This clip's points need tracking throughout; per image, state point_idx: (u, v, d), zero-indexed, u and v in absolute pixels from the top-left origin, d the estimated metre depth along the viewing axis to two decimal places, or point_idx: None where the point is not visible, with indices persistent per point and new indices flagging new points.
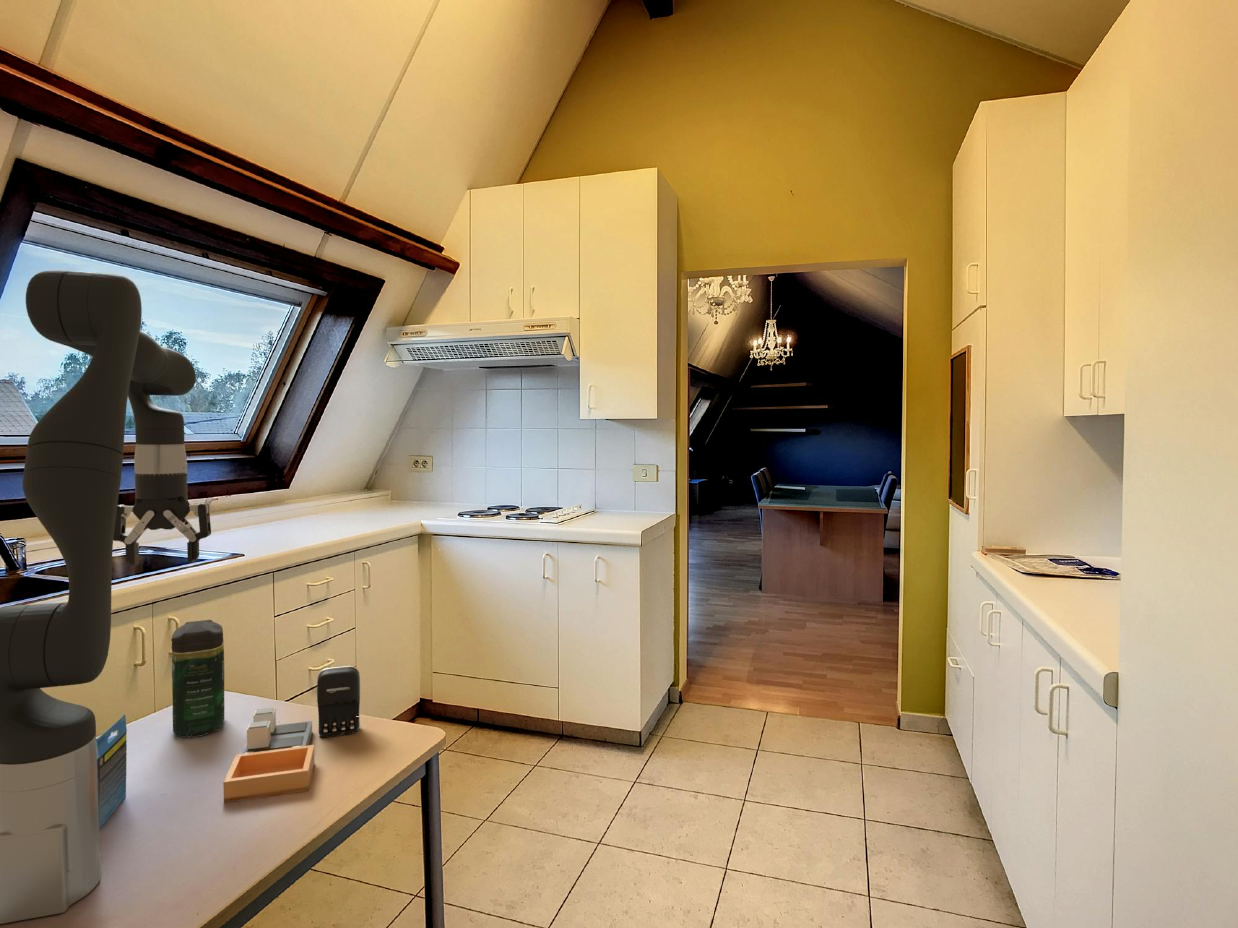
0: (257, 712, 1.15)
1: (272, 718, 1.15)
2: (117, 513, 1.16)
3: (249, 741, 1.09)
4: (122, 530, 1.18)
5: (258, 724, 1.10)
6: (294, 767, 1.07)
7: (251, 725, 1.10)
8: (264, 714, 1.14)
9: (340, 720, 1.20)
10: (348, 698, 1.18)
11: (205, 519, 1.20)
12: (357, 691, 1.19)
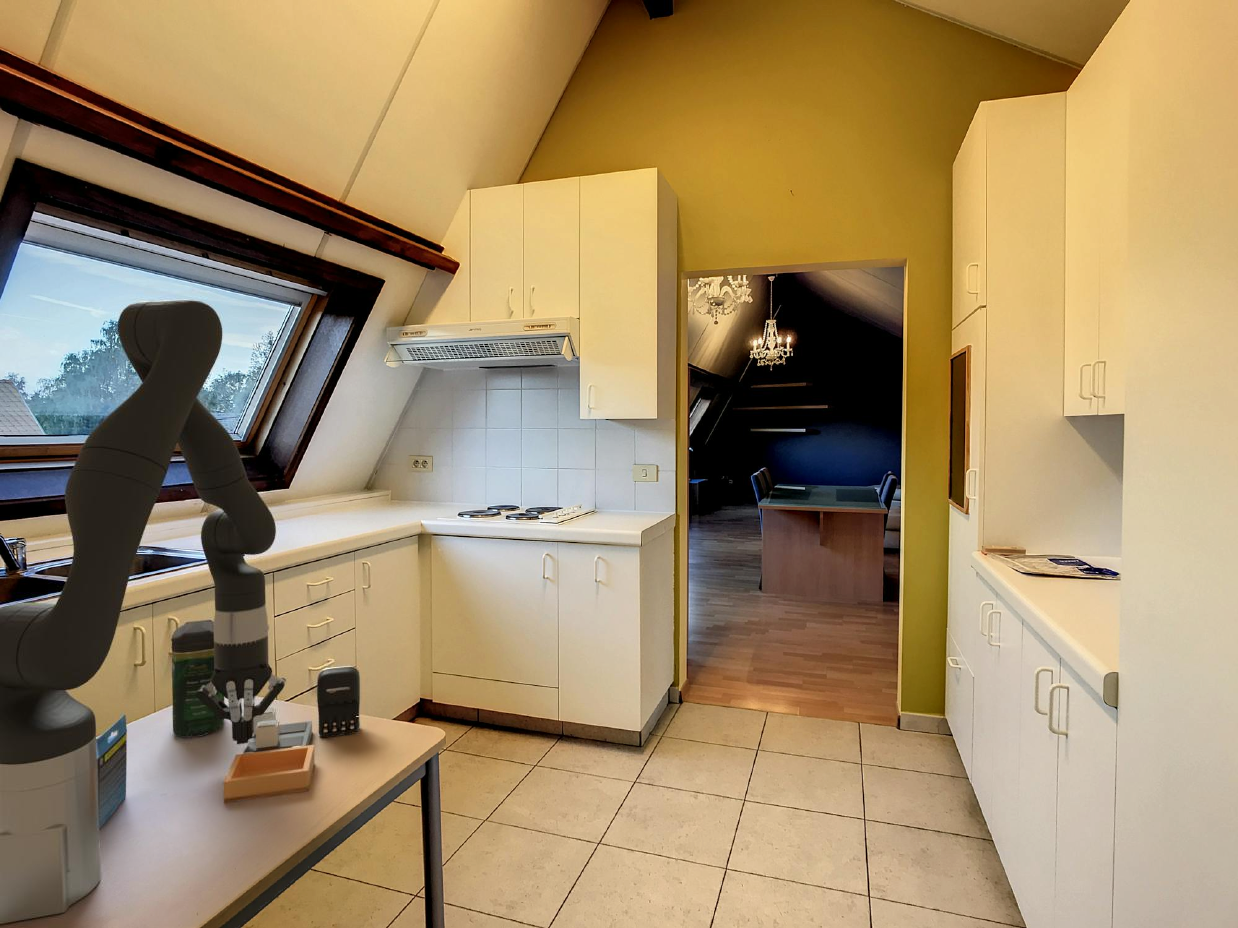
0: None
1: (272, 718, 1.15)
2: (204, 697, 1.07)
3: (258, 740, 1.09)
4: (222, 705, 1.09)
5: (267, 723, 1.10)
6: (294, 767, 1.07)
7: (260, 724, 1.10)
8: (264, 714, 1.14)
9: (340, 720, 1.20)
10: (348, 698, 1.18)
11: (273, 699, 1.10)
12: (357, 691, 1.19)
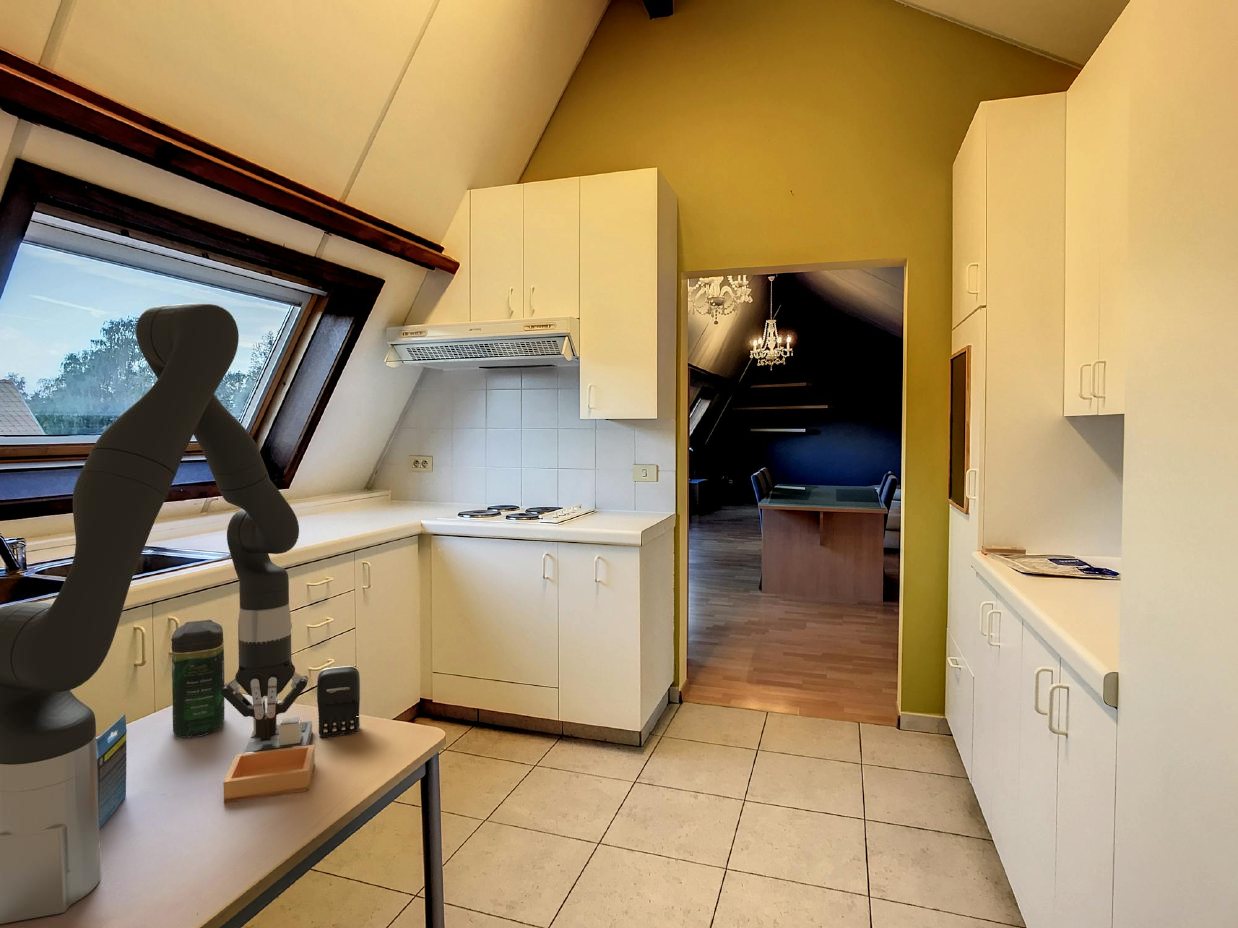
0: None
1: None
2: (228, 694, 1.08)
3: (281, 737, 1.10)
4: (246, 702, 1.10)
5: (290, 720, 1.12)
6: (294, 767, 1.07)
7: (283, 721, 1.11)
8: None
9: (340, 720, 1.20)
10: (348, 698, 1.18)
11: (296, 696, 1.11)
12: (357, 691, 1.19)
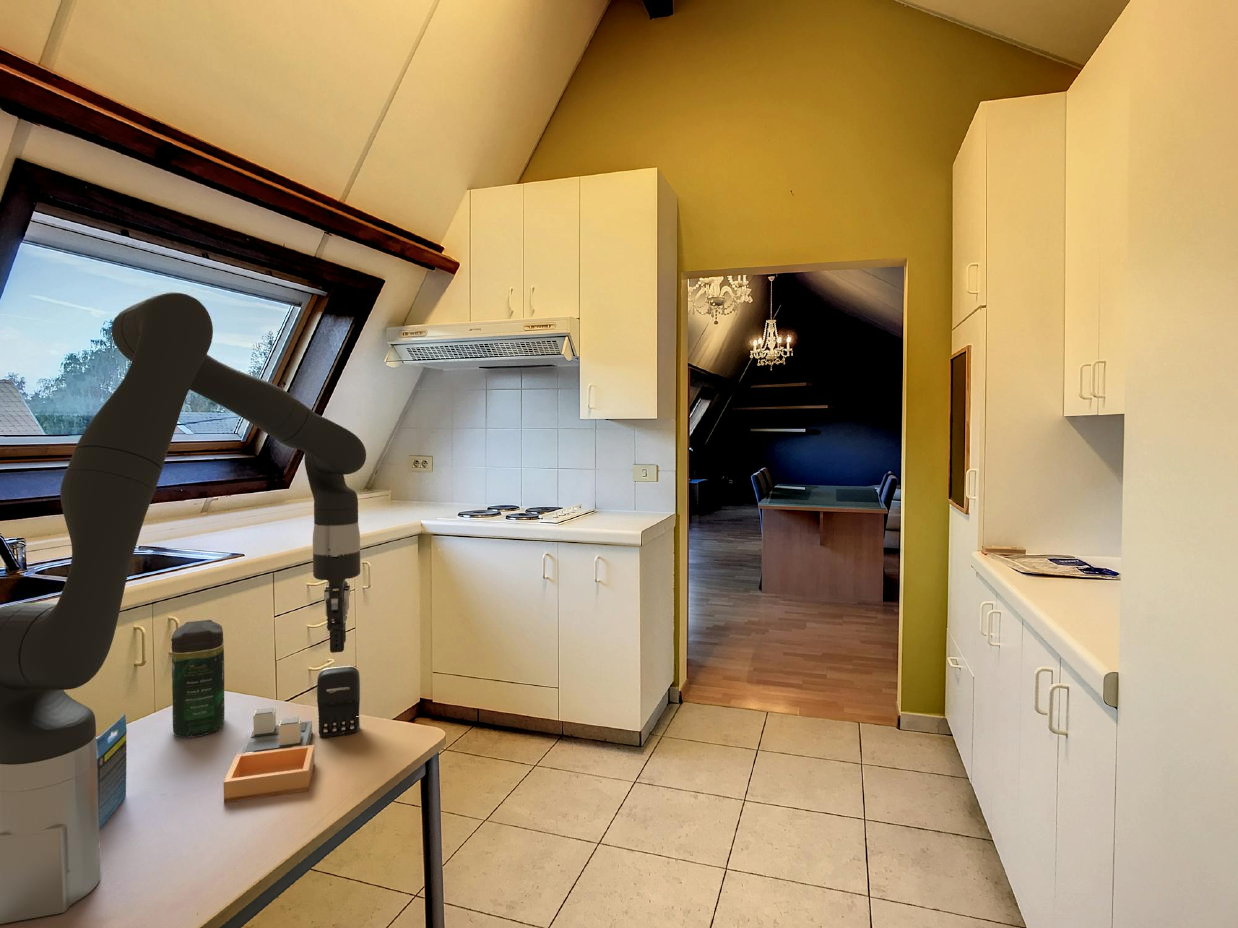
0: (257, 712, 1.15)
1: (272, 718, 1.15)
2: None
3: (281, 737, 1.10)
4: None
5: (289, 720, 1.12)
6: (294, 767, 1.07)
7: (283, 721, 1.11)
8: (264, 714, 1.14)
9: (340, 720, 1.20)
10: (348, 698, 1.18)
11: (327, 614, 1.13)
12: (357, 691, 1.19)
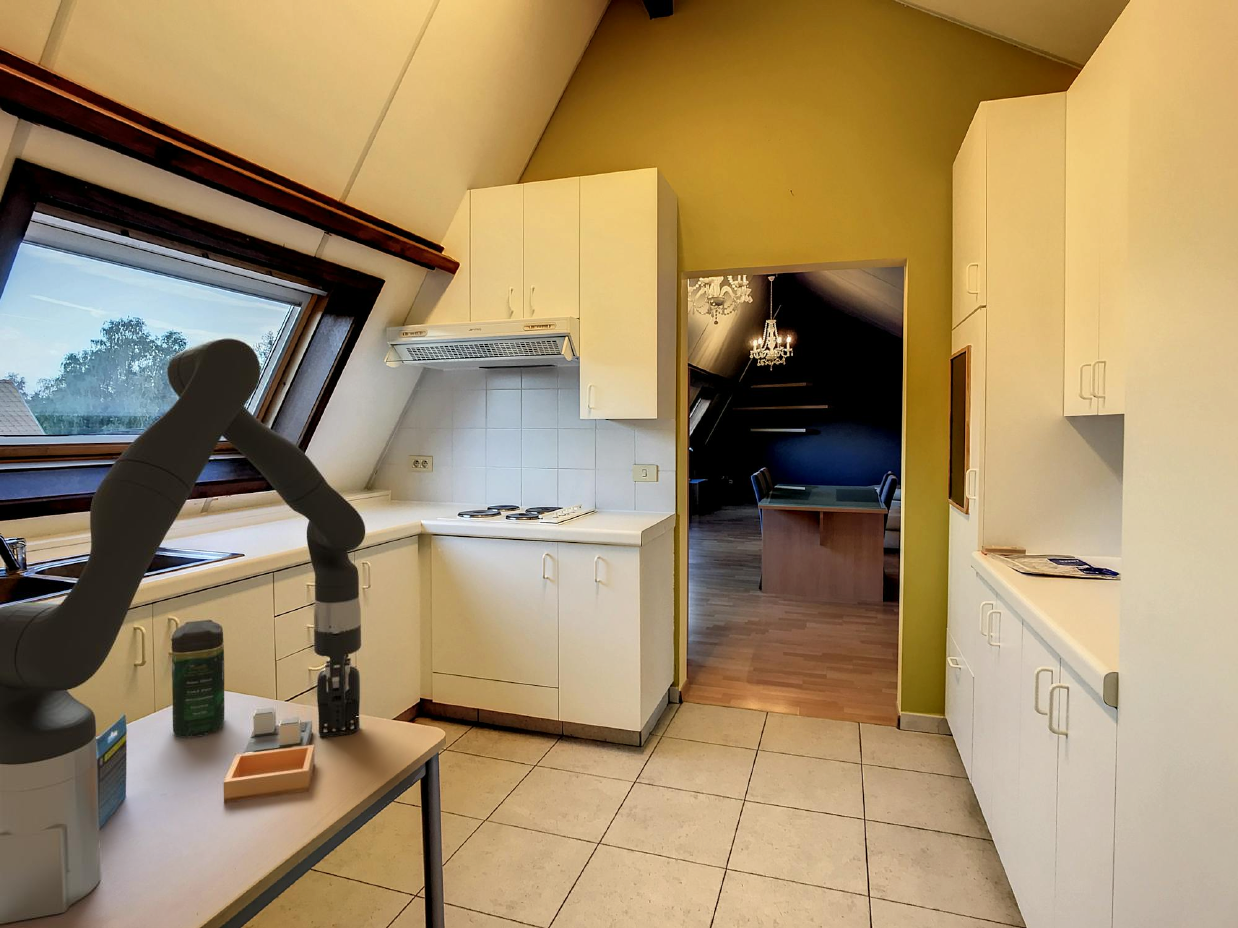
0: (257, 712, 1.15)
1: (272, 718, 1.15)
2: None
3: (281, 737, 1.10)
4: None
5: (289, 720, 1.12)
6: (294, 767, 1.07)
7: (283, 721, 1.11)
8: (264, 714, 1.14)
9: None
10: (348, 698, 1.18)
11: (328, 692, 1.14)
12: (357, 691, 1.19)
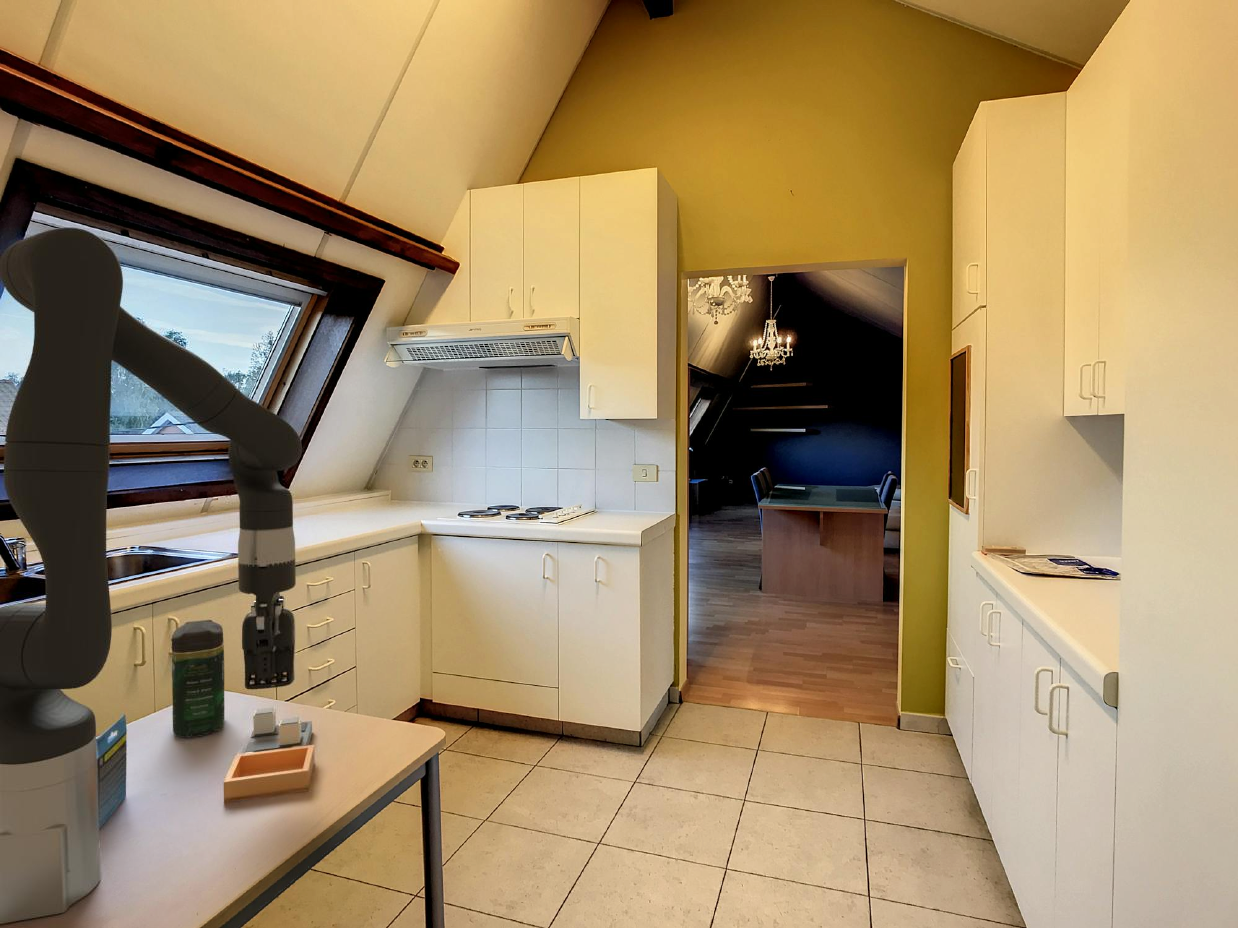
0: (257, 712, 1.15)
1: (272, 718, 1.15)
2: None
3: (281, 737, 1.10)
4: None
5: (289, 720, 1.12)
6: (294, 767, 1.07)
7: (283, 721, 1.11)
8: (264, 714, 1.14)
9: None
10: (279, 644, 1.01)
11: (252, 635, 0.96)
12: (290, 636, 1.02)
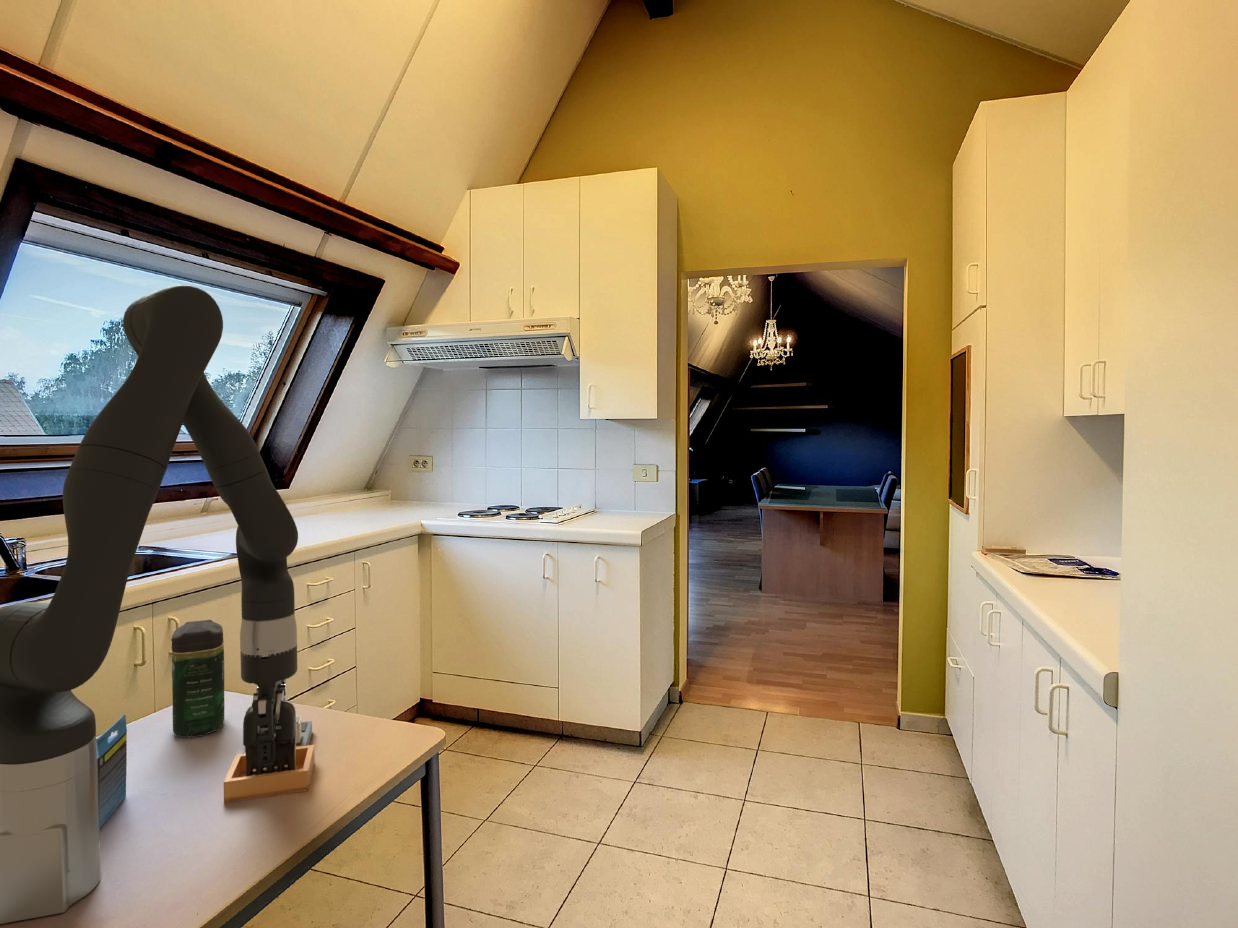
0: None
1: None
2: None
3: None
4: None
5: None
6: None
7: None
8: None
9: None
10: (280, 739, 1.01)
11: None
12: (291, 731, 1.02)
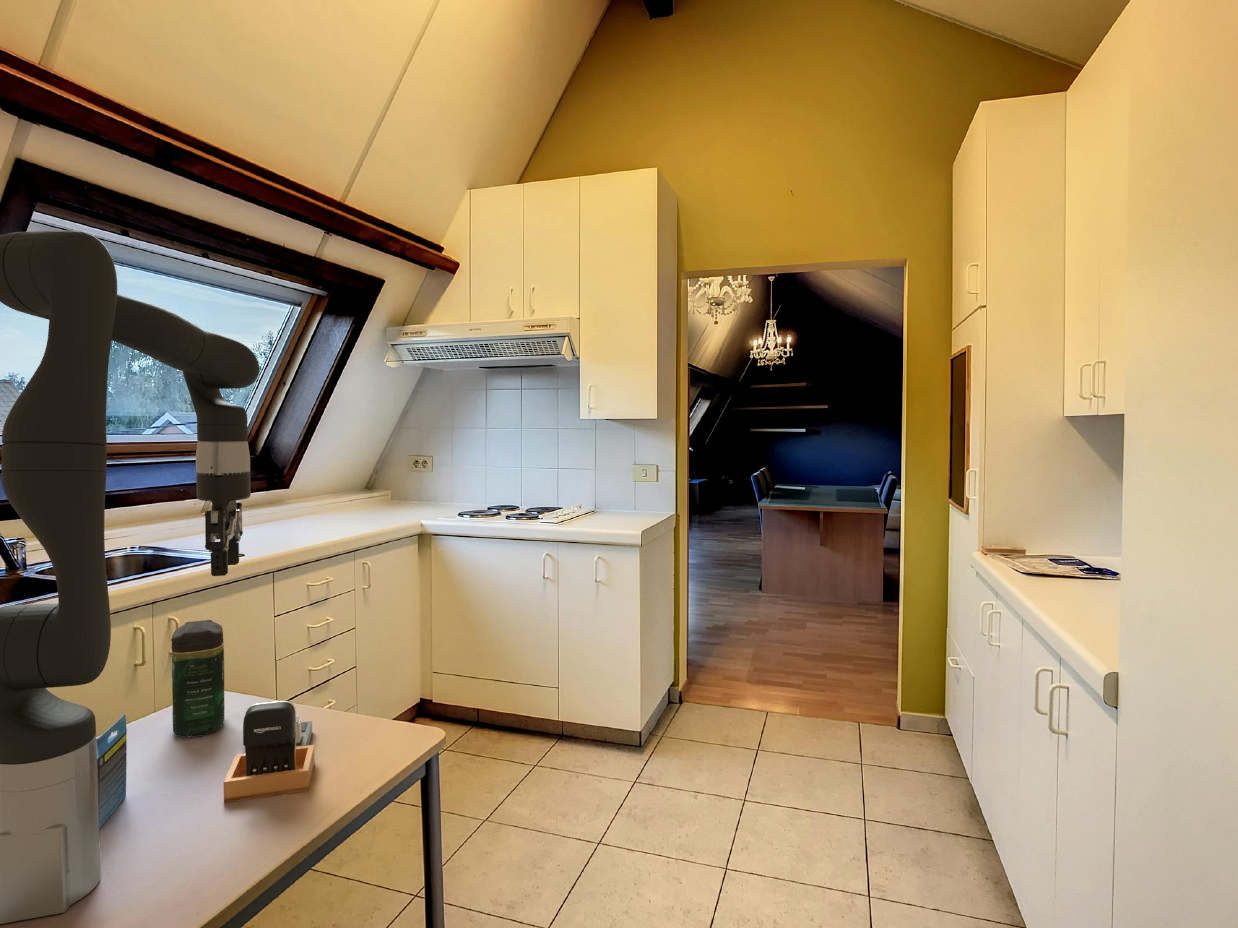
0: None
1: None
2: None
3: None
4: None
5: None
6: None
7: None
8: None
9: (272, 764, 1.03)
10: (280, 739, 1.01)
11: None
12: (291, 731, 1.02)
